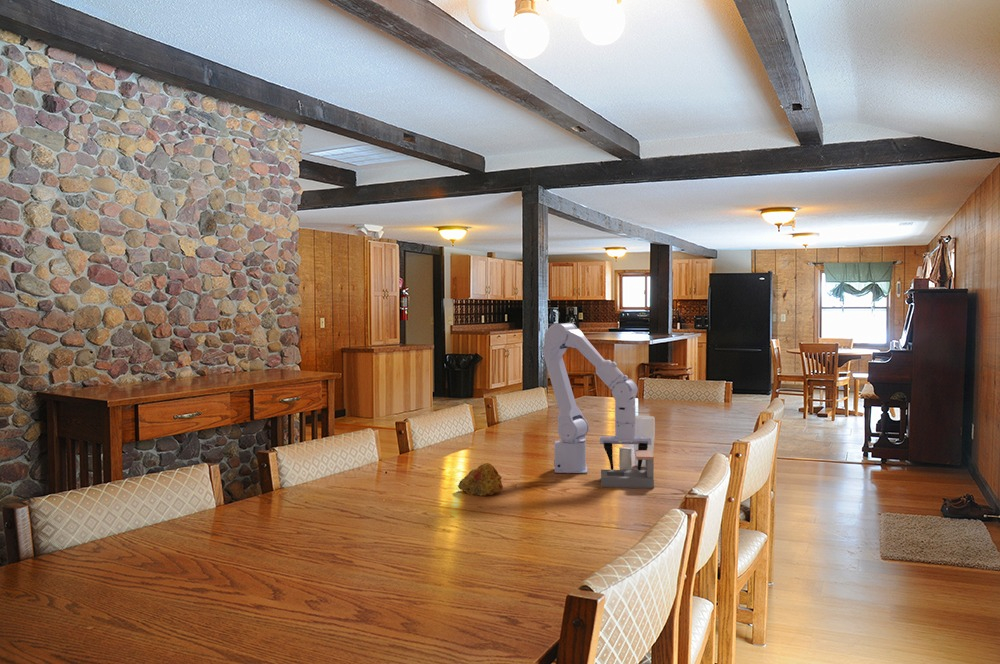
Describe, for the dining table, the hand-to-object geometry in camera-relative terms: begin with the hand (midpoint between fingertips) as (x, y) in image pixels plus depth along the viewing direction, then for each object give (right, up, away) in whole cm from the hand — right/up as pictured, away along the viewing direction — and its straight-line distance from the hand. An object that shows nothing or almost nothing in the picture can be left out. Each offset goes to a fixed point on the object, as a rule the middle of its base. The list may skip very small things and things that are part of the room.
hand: (625, 469), depth 208 cm
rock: (-41, -3, -15) cm, 44 cm away
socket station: (-1, -2, -8) cm, 8 cm away
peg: (0, -2, 0) cm, 2 cm away
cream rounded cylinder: (+8, -2, +13) cm, 15 cm away
